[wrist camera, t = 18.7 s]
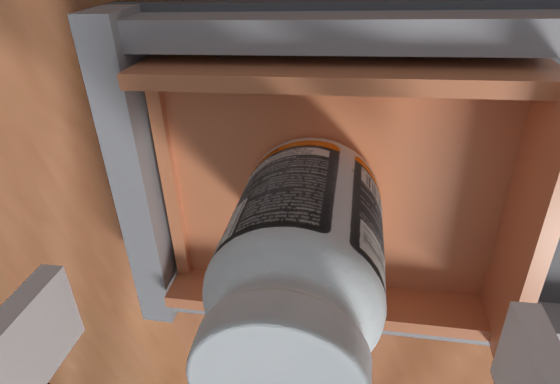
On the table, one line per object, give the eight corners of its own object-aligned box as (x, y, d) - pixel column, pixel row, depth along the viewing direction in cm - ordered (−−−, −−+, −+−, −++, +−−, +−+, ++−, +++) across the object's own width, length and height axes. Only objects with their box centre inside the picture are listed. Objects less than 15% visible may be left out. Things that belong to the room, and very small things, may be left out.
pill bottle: (237, 220, 21) (146, 414, 12) (274, 111, 18) (187, 270, 10) (350, 262, 21) (336, 485, 13) (406, 161, 18) (437, 364, 10)
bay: (169, 275, 26) (143, 319, 23) (114, 1, 19) (66, 14, 16) (759, 332, 21) (822, 396, 18) (999, -10, 14) (1168, 6, 11)
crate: (187, 267, 24) (153, 330, 20) (151, 54, 19) (94, 86, 15) (488, 294, 22) (513, 373, 18) (550, 58, 16) (607, 98, 12)
